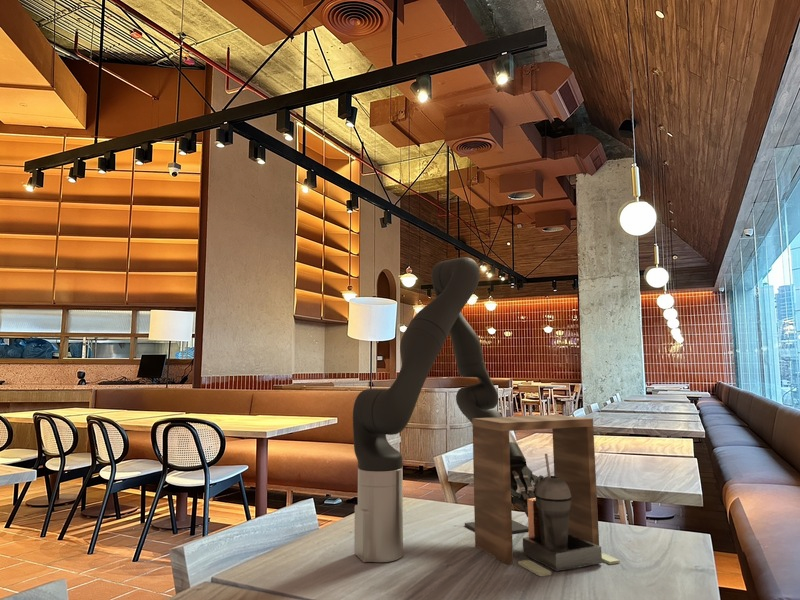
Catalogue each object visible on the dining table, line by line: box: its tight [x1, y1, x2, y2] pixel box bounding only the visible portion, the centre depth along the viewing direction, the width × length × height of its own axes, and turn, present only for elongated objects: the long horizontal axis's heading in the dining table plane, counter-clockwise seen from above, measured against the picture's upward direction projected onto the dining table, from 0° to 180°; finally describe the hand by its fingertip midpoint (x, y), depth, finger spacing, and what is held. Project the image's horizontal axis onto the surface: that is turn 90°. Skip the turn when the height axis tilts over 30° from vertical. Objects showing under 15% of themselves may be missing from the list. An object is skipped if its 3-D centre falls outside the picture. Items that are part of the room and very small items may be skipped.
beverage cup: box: [535, 453, 572, 552], centre depth 111 cm, size 7×7×20 cm
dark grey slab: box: [464, 519, 529, 535], centre depth 130 cm, size 12×10×1 cm
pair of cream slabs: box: [517, 552, 621, 577], centre depth 106 cm, size 18×7×1 cm, turn 112°
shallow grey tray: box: [522, 498, 603, 572], centre depth 110 cm, size 11×13×10 cm
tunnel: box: [471, 414, 600, 565], centre depth 118 cm, size 23×12×27 cm, turn 112°
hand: (536, 518), depth 116 cm, fingers closed
